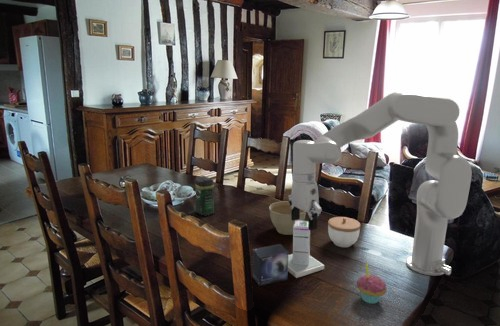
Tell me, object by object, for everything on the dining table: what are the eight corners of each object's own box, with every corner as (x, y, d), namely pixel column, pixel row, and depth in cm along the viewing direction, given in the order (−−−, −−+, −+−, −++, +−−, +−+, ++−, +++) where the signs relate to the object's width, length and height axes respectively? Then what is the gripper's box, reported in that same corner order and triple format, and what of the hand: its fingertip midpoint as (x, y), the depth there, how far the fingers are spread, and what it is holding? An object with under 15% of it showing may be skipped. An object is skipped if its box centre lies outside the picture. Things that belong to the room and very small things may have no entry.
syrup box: (308, 266, 122) (310, 227, 118) (291, 264, 123) (293, 225, 120) (309, 258, 127) (311, 220, 124) (293, 256, 128) (294, 219, 125)
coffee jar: (216, 214, 173) (216, 178, 169) (202, 217, 169) (201, 180, 164) (207, 208, 181) (206, 173, 177) (193, 211, 176) (192, 176, 172)
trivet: (324, 269, 123) (324, 264, 123) (296, 278, 117) (296, 273, 117) (303, 254, 133) (303, 250, 133) (276, 262, 128) (277, 257, 127)
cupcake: (354, 303, 104) (357, 267, 101) (356, 288, 112) (359, 254, 109) (385, 310, 101) (389, 273, 98) (385, 294, 109) (388, 259, 106)
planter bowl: (271, 222, 164) (271, 200, 161) (306, 225, 161) (307, 202, 158) (266, 236, 148) (266, 212, 146) (304, 240, 145) (305, 215, 143)
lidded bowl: (357, 252, 135) (360, 226, 132) (324, 247, 139) (326, 221, 137) (359, 239, 146) (361, 214, 144) (329, 234, 151) (330, 210, 148)
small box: (259, 287, 112) (260, 257, 110) (251, 277, 118) (251, 248, 116) (288, 280, 116) (289, 251, 114) (279, 270, 122) (280, 243, 120)
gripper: (330, 181, 112) (328, 230, 116) (297, 170, 127) (297, 214, 131) (311, 185, 109) (310, 235, 113) (280, 173, 123) (281, 218, 127)
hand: (303, 224), depth 122 cm, fingers open, 9 cm apart
